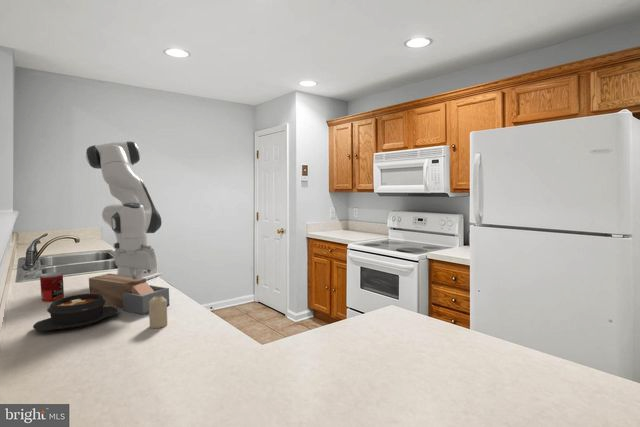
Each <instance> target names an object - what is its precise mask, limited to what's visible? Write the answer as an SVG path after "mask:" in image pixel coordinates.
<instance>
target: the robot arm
mask: <svg viewBox="0 0 640 427" xmlns="http://www.w3.org/2000/svg"><path fill="white" fill-rule="evenodd" d="M141 155H142V154H141V150H140V147H139V145H138V144H137V143H136V142H134V141H118V142H117V141H116V142H108V143H103V144H98V145H96V144H94V145H91V146H89V147H87V149H86V152H85V159H86V162H87V163H88V164H89V167H91V168H93V169H98V170H99V169H100V170H101V174H102V177H103V180H104V181H105V183H106V184H107V185H108V188H109V192H110V195H111V196H112V197H113V198H115V199H116V200H118V201H119V202H121V203H113V204H108V205H106V206H105V207H104V208H103V210H102V212H101V216H102V219H103V221H104V223H106V224H107V225H108V226H110V228H111V229H112V231H113V233H114V235H115V237H116V242H115V243H113V250H114V252H113V253H114V255H113V256H114V258H113V259H114V264H115V266H116V267H117V275H124V276H130V277H132V279H136V280H138V279H140V278H144V279H146V281H149V280H151V279H154V278H157V277H161V276H163V272H161V271H158V267H157V262H158V261H157V257H156V256H157V255H156V251H155V249H154V248H153V247H152V246H151V245H148V239H147V238H148V236H147V234H155V233H156V232H157V231H159V230H160V228H161V227H162V217H161V215H160V213H159V211H158V210H157V208H156V206H155V204H154V202H153V200H152V197H151V195H150V193H149V191H148V188H147V187H146V185H145V183H144V181H143V179H142V178H140V177H138V176H137V175H136V174H135V173H134V171H133V170H132V168H131V166H134V165H135V164H138V162H140V159H141ZM156 276H157V277H156Z"/></svg>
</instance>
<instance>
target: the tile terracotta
mask: <svg viewBox="0 0 640 427" xmlns="http://www.w3.org/2000/svg"><path fill="white" fill-rule="evenodd" d="M149 285H150V284H148V282H147V281H146V282H145V283H141V284H138V285H134V286H132V288H131V290H130V291H131V292H132V293H133V294H137V295H145V294H148V293H152V292H154V290H153V289H152V288H151V287H150V286H149Z"/></svg>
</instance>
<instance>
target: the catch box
mask: <svg viewBox="0 0 640 427" xmlns="http://www.w3.org/2000/svg"><path fill="white" fill-rule="evenodd" d="M148 285H149V286H150V287H151V288H152V289H153V290H154V292H153V293H149V294H146V295H137V294H133V293H132V292H131V291H127V292H124V293H123V312H127V311H128V313H132V312H133V314H136V313H138V314H137V315H141V314H142V316H144V314H145V315H147V314H149V301H150V300H151V299H152V298H153V297H154V296H157V297H159V296H162V297H164V298H165V299H166V300H167V307H168V306H170V288H169V287H164V286H158V285H152V284H151V285H150V284H148ZM155 291H156V292H155Z"/></svg>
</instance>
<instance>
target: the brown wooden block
mask: <svg viewBox="0 0 640 427" xmlns="http://www.w3.org/2000/svg"><path fill="white" fill-rule="evenodd" d="M145 282H146V283H147V280H146V279H144V278H140V279H138V280H136V279H132V277H130V276H124V275H117V274H116V273H106V274H102V275H101V274H100V275H97V276H94V277H93V276H92V277H88V286H89V290H88V291H89V294H99V295H101V296H102V297H103V299H104V300H105V301H106V302H105V304H104V306H109V307H114V308H117V309H123V293H124V292H127V291H130V290H131V288H132V286H134V285H138V284H141V283H145ZM123 310H124V309H123Z"/></svg>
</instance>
